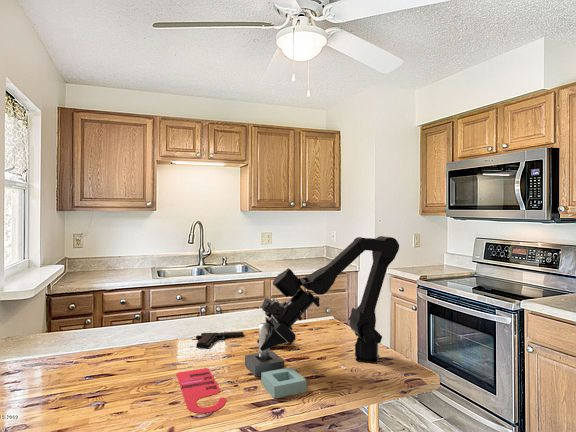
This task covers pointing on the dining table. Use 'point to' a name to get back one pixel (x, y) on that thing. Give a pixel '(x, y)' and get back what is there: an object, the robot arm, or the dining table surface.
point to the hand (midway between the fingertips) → (259, 346)
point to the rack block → (283, 382)
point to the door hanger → (199, 389)
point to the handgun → (215, 338)
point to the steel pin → (263, 335)
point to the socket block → (263, 363)
